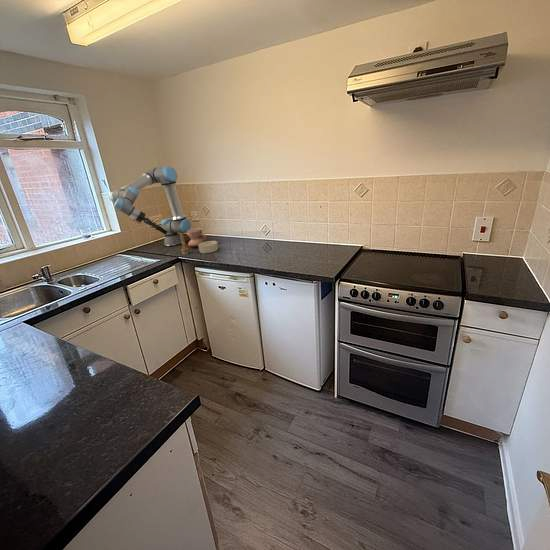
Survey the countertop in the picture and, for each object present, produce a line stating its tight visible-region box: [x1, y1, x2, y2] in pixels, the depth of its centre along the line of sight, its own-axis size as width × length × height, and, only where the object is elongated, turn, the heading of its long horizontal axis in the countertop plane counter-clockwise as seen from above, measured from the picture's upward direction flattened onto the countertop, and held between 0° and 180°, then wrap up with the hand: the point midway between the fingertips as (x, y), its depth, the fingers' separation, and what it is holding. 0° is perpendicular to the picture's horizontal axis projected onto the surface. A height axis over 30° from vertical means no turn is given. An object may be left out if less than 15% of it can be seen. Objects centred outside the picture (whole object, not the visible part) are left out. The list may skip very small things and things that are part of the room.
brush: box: [179, 233, 190, 255], centre depth 230 cm, size 5×5×16 cm
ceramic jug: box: [186, 227, 207, 249], centre depth 246 cm, size 18×14×14 cm
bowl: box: [197, 240, 219, 255], centre depth 231 cm, size 15×15×6 cm
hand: (164, 231), depth 221 cm, fingers open, 13 cm apart
